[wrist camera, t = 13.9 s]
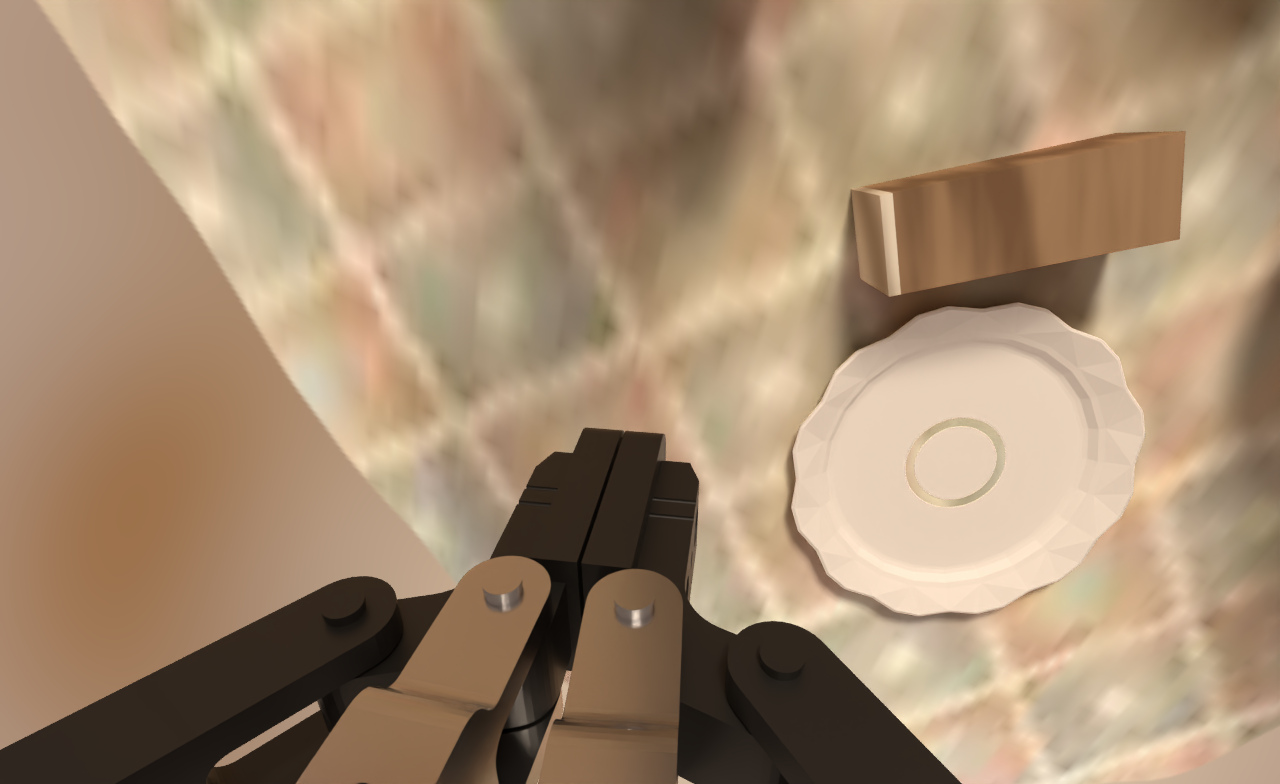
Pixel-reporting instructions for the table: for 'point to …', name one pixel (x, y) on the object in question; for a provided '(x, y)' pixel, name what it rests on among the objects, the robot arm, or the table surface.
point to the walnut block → (1020, 211)
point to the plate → (967, 459)
